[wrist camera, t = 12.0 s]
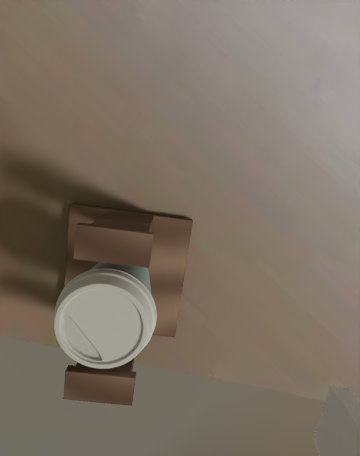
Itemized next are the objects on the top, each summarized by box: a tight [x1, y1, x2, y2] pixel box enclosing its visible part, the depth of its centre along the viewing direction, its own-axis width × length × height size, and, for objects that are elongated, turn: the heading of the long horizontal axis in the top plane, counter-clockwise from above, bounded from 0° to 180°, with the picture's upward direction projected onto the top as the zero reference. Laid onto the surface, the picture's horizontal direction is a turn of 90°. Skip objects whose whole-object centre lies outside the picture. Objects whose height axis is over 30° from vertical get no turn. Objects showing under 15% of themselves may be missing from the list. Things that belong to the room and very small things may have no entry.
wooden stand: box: [64, 203, 193, 405], centre depth 30 cm, size 16×14×12 cm
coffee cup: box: [54, 262, 157, 369], centre depth 29 cm, size 8×8×12 cm
